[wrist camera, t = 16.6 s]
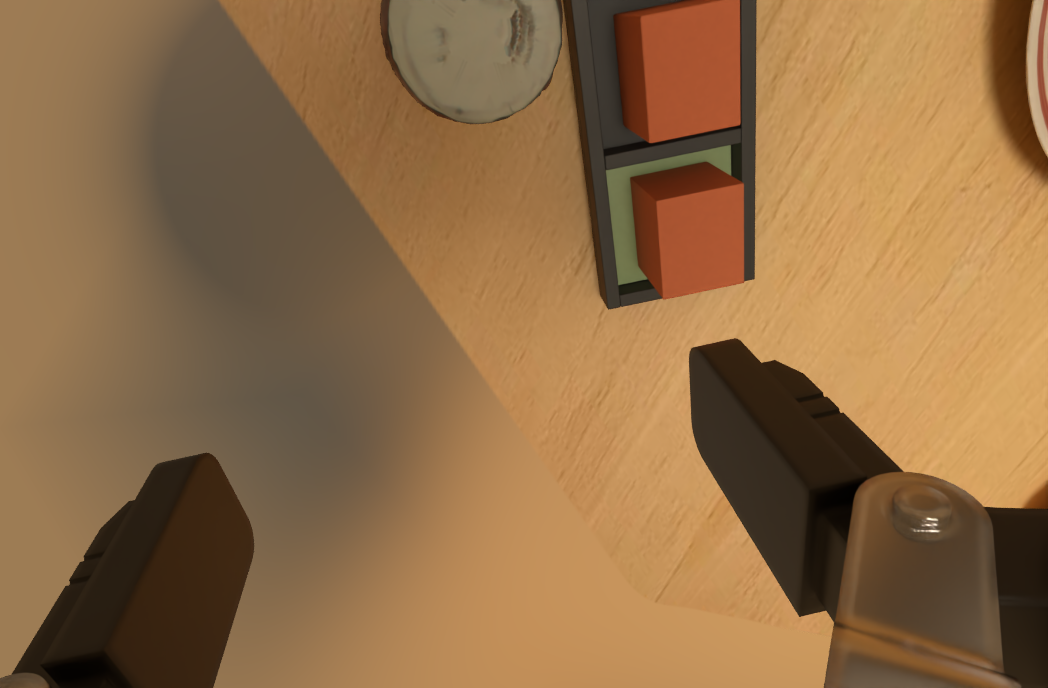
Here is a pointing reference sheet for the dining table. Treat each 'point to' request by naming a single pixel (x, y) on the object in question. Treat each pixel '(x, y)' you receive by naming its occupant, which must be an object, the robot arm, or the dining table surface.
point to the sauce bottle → (473, 53)
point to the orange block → (689, 228)
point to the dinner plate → (1038, 69)
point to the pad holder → (645, 144)
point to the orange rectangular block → (679, 68)
